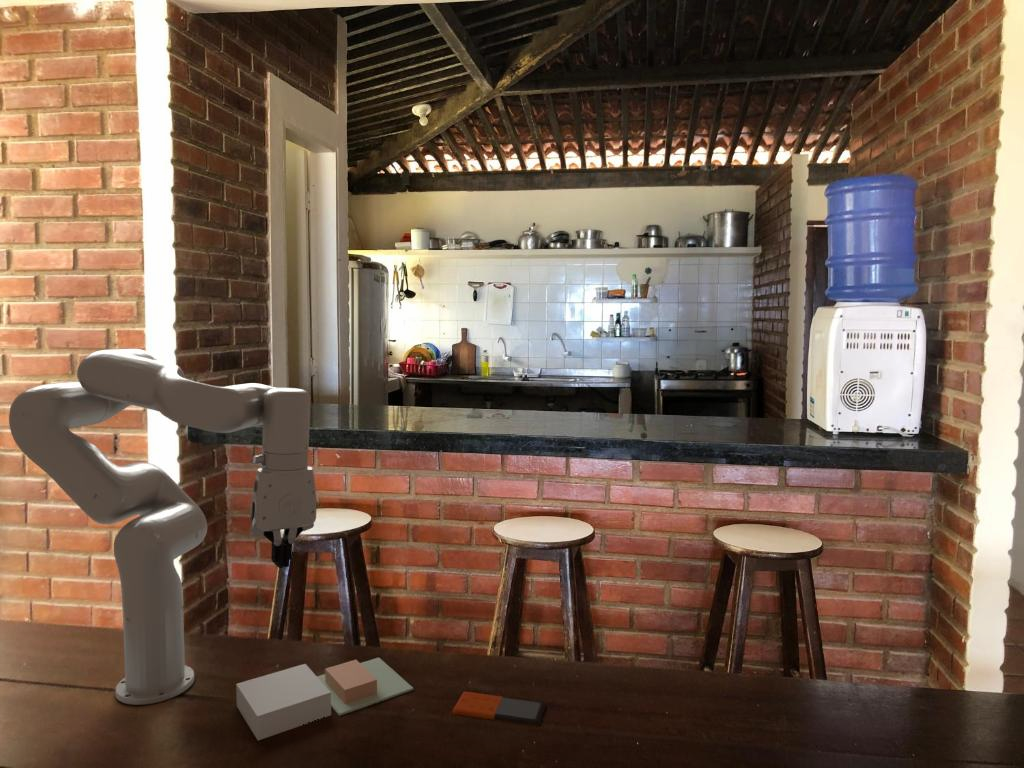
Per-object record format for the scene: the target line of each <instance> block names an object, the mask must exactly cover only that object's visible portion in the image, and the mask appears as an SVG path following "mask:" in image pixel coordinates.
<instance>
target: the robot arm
mask: <svg viewBox="0 0 1024 768" xmlns="http://www.w3.org/2000/svg"><path fill="white" fill-rule="evenodd" d="M76 378H77V380H75V381H74V380H73V381H63V382H62V381H61V382H52V383H45V384H41V385H36V386H34V387H30V388H28V389H26V390H24V391H22V392H21V393H19V394H18V395H17V396H16V397H15V398H14V400H13V401H12V403H11V405H10V409H9V413H8V423H9V425H8V426H9V429H10V433H11V436H12V438H13V440H14V442H15V444H16V446H17V447H18V448H19V449H20V451H21V452H22V453H23V454H24V455H25V456H26V457H27V458H28V459H29V460H31V461H32V462H33V463H34V465H36V466H37V467H39V468H40V469H41V470H43V472H44V473H46V474H47V475H48V476H49V477H50V478H51V479H52V480H53V482H55V483H56V484H57V485H58V486H59V487H60V489H62V491H63V492H64V493H65V494H66V495H67V496H68V497H69V499H71V500H72V501H73V502H74V503H75V504H76V505H77V506H78V508H79V509H81V510H82V512H84V513H85V515H87V516H88V517H89V518H90V519H91V520H93V521H94V522H95V523H97V524H99V525H112V524H116V523H119V522H122V521H125V520H127V519H129V518H132V520H130V521H128V522H127V523H125V524H124V526H122V527H121V529H120V530H119V531H118V532H117V534H116V536H115V539H114V541H113V555H114V559H115V563H116V568H117V571H118V575H119V581H120V589H121V605H122V606H121V609H122V622H123V623H122V625H123V626H122V629H123V651H124V653H123V654H124V657H123V658H124V675H125V677H123V678H122V679H121V680H120V681H119V682H118V683H117V685H116V686H115V698H116V699H117V700H118V701H119V702H121V703H123V704H127V705H131V706H133V705H134V706H137V705H138V706H139V705H140V706H142V705H151V704H156V703H160V702H163V701H168V700H170V699H172V698H174V697H176V696H179V695H181V694H182V693H184V692H185V691H186V690H188V689H189V688H190V687H191V686H192V685H193V684H194V681H195V679H196V678H195V671H194V669H193V668H191V667H190V666H189V665H186V662H185V657H186V656H185V636H184V635H185V633H184V632H185V629H184V599H183V585H182V580H181V578H180V575H179V573H178V571H177V569H176V567H175V563H174V562H175V560H176V559H177V558H179V557H181V556H182V555H184V554H186V553H188V552H190V551H191V550H193V549H195V548H196V547H197V546H199V545H200V544H201V543H202V542H203V541H204V539H205V537H206V535H207V533H208V521H207V518H206V516H205V514H204V512H203V510H202V509H201V508H200V506H199V505H198V504H197V503H196V502H195V501H194V500H193V499H192V498H191V497H190V496H189V495H188V494H187V493H186V492H185V490H183V488H181V486H179V484H178V483H176V482H175V480H174V479H173V478H171V476H169V475H168V473H167V472H165V471H164V470H163V469H162V468H160V467H159V466H157V465H155V464H153V463H150V462H144V461H138V462H137V461H136V462H131V463H127V464H123V465H118V464H115V462H113V461H111V459H109V458H108V457H107V456H106V455H105V454H104V453H103V452H102V450H100V448H98V446H96V445H95V444H94V443H93V442H91V441H89V440H87V439H86V438H83V437H82V436H79V435H77V434H76V433H74V432H72V431H71V429H76V428H81V427H87V426H93V425H96V424H100V423H103V422H105V421H107V420H109V419H111V418H113V417H114V416H117V414H118V413H121V412H122V411H123V410H125V409H127V408H128V407H130V406H131V405H132V406H136V407H139V408H144V409H148V410H151V411H152V410H153V411H156V412H159V413H160V414H161V415H162V416H164V417H165V418H167V419H168V420H170V421H171V422H174V423H177V424H178V425H182V426H185V427H190V428H194V429H198V430H203V431H207V432H212V433H219V434H226V433H227V434H230V433H234V432H237V431H240V430H245V429H248V428H254V427H257V426H262V440H261V446H262V447H261V450H260V454H258V455H254V456H253V457H252V458H253V459H252V463H253V464H254V465H260V466H261V467H259V468H258V469H257V470H256V474H255V477H254V482H253V488H252V493H251V494H252V495H251V504H250V522H251V526H250V529H249V533H250V534H251V535H252V537H259V538H260V537H261V538H266V539H267V540H268V541H269V542H271V555H270V556H271V557H270V559H271V562H272V563H273V564H274V565H275V566H276V567H277V568H279V569H282V568H284V567H285V568H289V567H290V560H292V557H293V544H294V543H295V542H296V539H297V538H298V537H299V536H300V535H301V534H302V532H305V531H307V530H310V529H313V527H314V526H315V524H314V523H315V522H316V519H317V488H316V480H315V473H314V469H313V467H312V466H309V450H310V449H309V448H310V447H309V444H310V425H311V424H310V422H311V421H310V420H311V396H310V393H309V392H308V391H307V390H305V389H302V388H295V387H274V386H271V385H268V384H267V385H266V384H262V383H256V382H249V383H241V384H232V385H226V386H218V385H211V384H208V383H203V382H199V381H194V380H191V379H188V378H186V375H185V373H184V371H183V369H182V368H181V367H180V366H179V365H177V364H175V363H171V362H166V361H161V360H158V358H156V357H155V355H153V354H152V353H150V352H148V351H146V350H144V349H139V348H117V349H116V348H114V349H100V350H98V351H96V350H95V351H94V352H92V353H89V354H88V355H87V356H85V357H84V358H83V359H82V360H81V362H79V365H78V366H77V371H76ZM137 515H139V516H137ZM134 516H137V517H134ZM133 517H134V518H133ZM281 530H283V534H282V533H281ZM281 534H282V535H281Z"/></svg>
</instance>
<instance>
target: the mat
mask: <svg viewBox="0 0 1024 768" xmlns="http://www.w3.org/2000/svg"><path fill="white" fill-rule="evenodd" d="M359 663H360V664H361V665H362V666H363V667H365V668H366V669H367V670H368V671H369V672H370V673H371V674H372V675H373V676H374V677H375V678H376V679H377V693H376V694H373V695H370V696H367V697H364V698H361V699H358V700H355V701H352V702H350V703H347V704H345V703H344V702H343V701H342V700H341V699H340V698H339V697H338V696H337V694H336V693H335V692H334V691H333V690H332V689H331V688H330V687H329V685H328V684H327V683H326V682H325V673H324V674H321V675H316V676H317V677H318V679H319V680H320V681H321V682H322V683H323V684H324V685H325V686H326V688H327V689H328V690H329V691H330V692H331V709H333V711H334V712H335V713H336V714H337V716H338V717H340V716H343V715H346V714H348V713H352V712H354V711H358V710H360V709H364V708H367V707H368V706H372V705H375V704H378V703H380V701H381V702H383V701H385V700H389V699H392V698H394V697H397V696H400V695H404V694H405V693H409V692H411V691H414V687H413V686H412V685H411V684H409V683H408V682H407V681H406V680H405V679H404V678H403V677H402V676H400V675H399V674H398V673H397V672H396V670H394V669H393V668H392V667H390V666H389V665H388V664H387V663H386V662H385V661H384V660H383V659H381V658H380V657H376V658H372V659H370V660H367V661H362V662H359ZM374 703H375V704H374Z"/></svg>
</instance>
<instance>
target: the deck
mask: <svg viewBox="0 0 1024 768" xmlns="http://www.w3.org/2000/svg"><path fill="white" fill-rule="evenodd" d="M317 676H318V675H316V674H315V673H314V672H313V671H312V669H311V668H310V667H309V666H308V665H307V664H306V663H303V664H299V665H296V666H292V667H289V668H286V669H282V670H280V671H274V672H272V673H269V674H265V675H263V676H258V677H256V678H255V677H254V678H251V679H248V680H244V681H241V682H238V683H236V684H235V686H236V687H235V688H236V690H235V691H236V692H235V693H236V707H237V709H238V711H239V713H240V714H241V716H242V717H243V719H244V721H245V722H246V724H247V726H248V727H249V729H250V730H251V732H252V733H253V735H254V737H255V739H256V740H257V741H261V740H263V739H266V738H270V737H273V736H275V735H278V734H281V733H284V732H287V731H290V730H293V729H295V728H298V727H301V726H303V724H304V725H307V724H309V723H308V722H310V723H312V721H313V722H315V721H314V720H316V721H318V720H317V719H319V720H322V719H324V718H323V717H325V718H327V717H330V716H332V707H331V692H330V691H329V690H328V689H327V688H326V686H325V685H324V684H323V683H322V682H321V681H320V680H319V679H318V677H317ZM321 718H322V719H321Z"/></svg>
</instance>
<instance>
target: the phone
mask: <svg viewBox="0 0 1024 768" xmlns="http://www.w3.org/2000/svg"><path fill="white" fill-rule="evenodd" d="M545 709H546V704H545V703H544V702H541V701H535V700H529V699H528V700H527V699H522V698H521V699H520V698H514V697H509V696H499V695H493V694H492V695H491V694H485V693H484V694H483V693H478V692H471V691H464V692H463V693H462V694H461V695H460V697H459V699H458V701H457V702H456V704H455V705H454V708H453V709H452V714H453V715H460V716H463V717H464V716H466V717H472V718H477V719H478V718H479V719H485V720H490V721H491V720H492V721H498V722H504V723H505V722H506V723H511V724H512V723H513V724H520V725H524V726H525V725H527V726H530V727H531V726H532V727H538V726H539V725H541V720H542V717H543V715H544V712H545Z"/></svg>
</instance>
